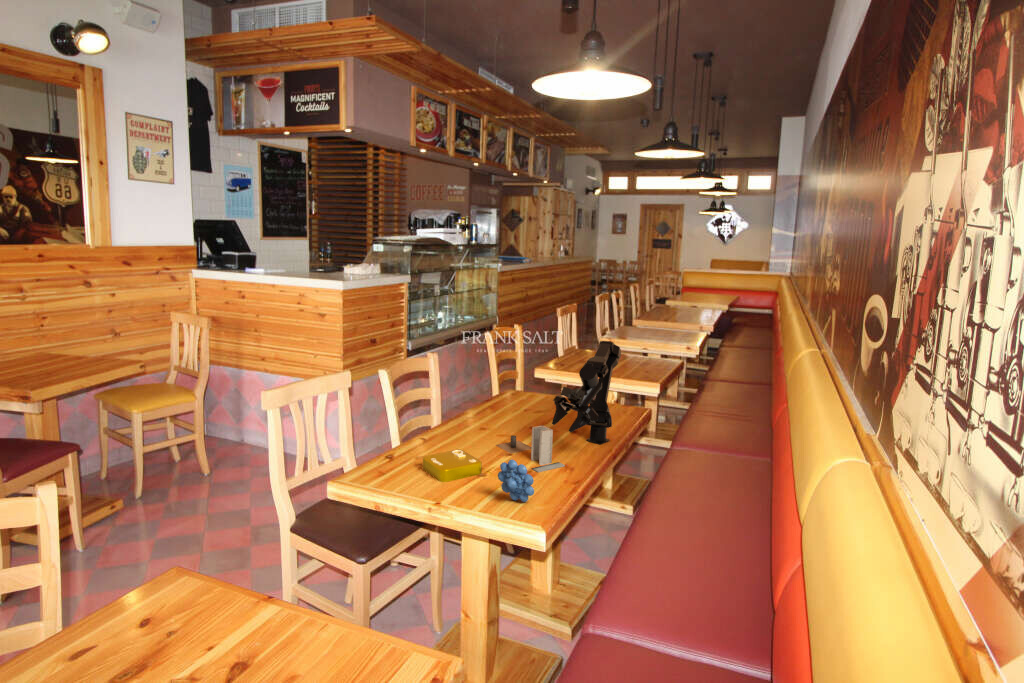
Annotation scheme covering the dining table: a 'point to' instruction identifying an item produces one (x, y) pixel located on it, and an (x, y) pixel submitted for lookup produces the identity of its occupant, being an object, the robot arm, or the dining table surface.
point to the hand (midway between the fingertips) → (561, 427)
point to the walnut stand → (514, 446)
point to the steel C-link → (542, 445)
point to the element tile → (452, 465)
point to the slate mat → (548, 467)
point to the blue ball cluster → (516, 481)
